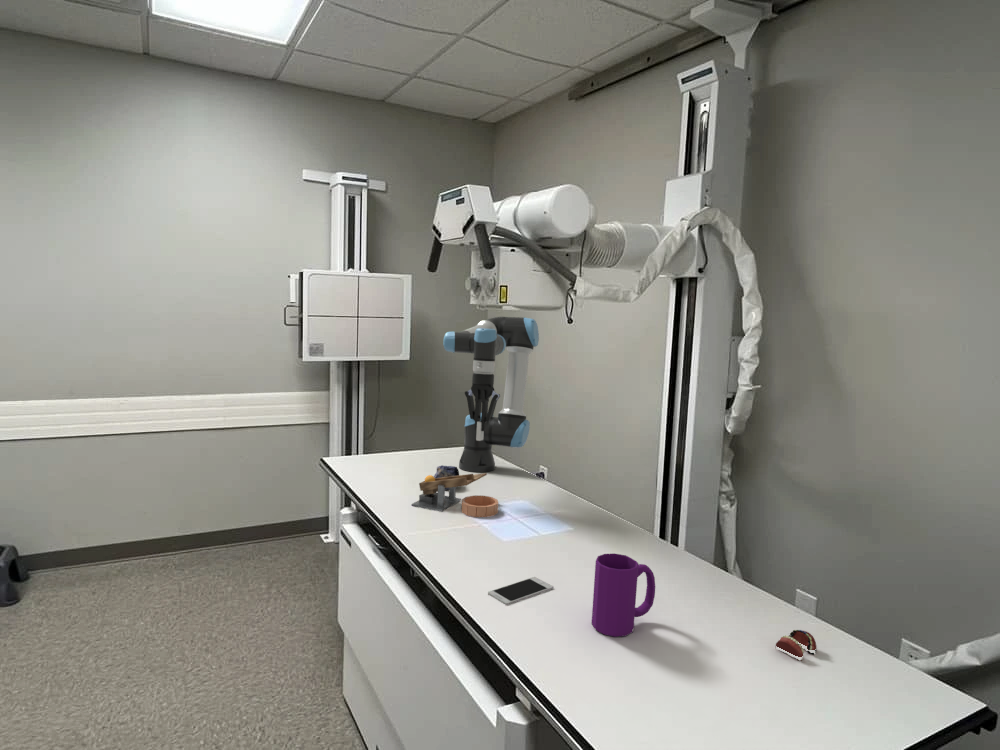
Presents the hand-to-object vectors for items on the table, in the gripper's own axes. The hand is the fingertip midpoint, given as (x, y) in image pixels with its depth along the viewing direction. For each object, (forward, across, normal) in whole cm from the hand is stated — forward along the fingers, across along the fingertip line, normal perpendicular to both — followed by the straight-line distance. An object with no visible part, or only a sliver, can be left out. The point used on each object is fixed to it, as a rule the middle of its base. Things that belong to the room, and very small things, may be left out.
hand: (479, 439), depth 221 cm
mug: (+24, +67, -62) cm, 94 cm away
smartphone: (+24, +41, -58) cm, 75 cm away
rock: (+21, -17, +8) cm, 28 cm away
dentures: (+24, +101, -55) cm, 118 cm away
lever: (+16, -5, -7) cm, 18 cm away
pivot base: (+22, -10, -11) cm, 26 cm away
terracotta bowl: (+22, +6, -11) cm, 25 cm away
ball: (+14, -13, -11) cm, 22 cm away
